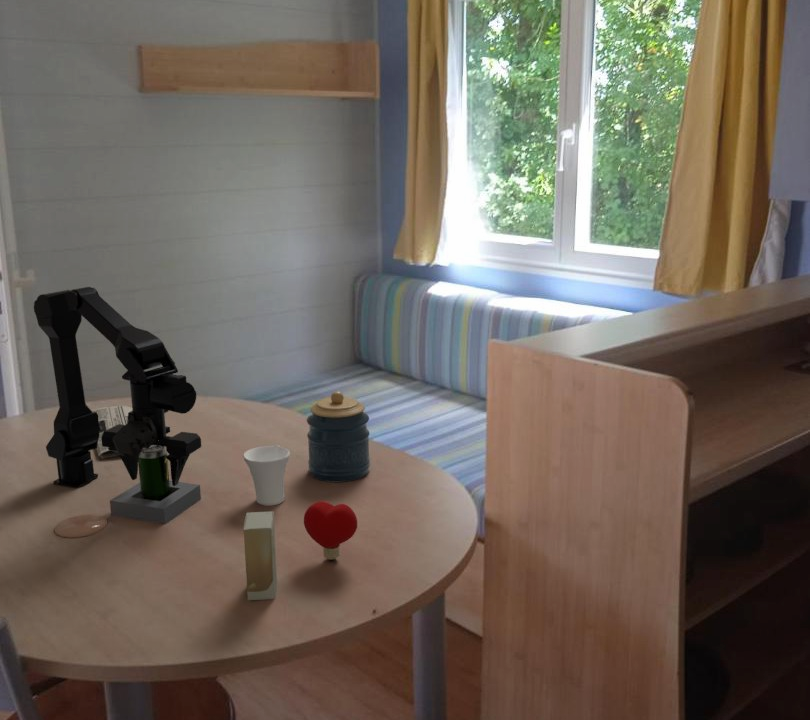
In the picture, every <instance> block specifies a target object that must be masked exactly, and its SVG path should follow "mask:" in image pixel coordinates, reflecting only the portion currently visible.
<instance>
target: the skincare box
mask: <svg viewBox="0 0 810 720" xmlns="http://www.w3.org/2000/svg"><path fill="white" fill-rule="evenodd" d="M244 518H245V519H244V523H243V539H244V541H243V543H244V554H245V555H244V556H245V574H246V592H247V595H246V596H247V601H261V600H263V601H265V600H275V599H276V595H277V587H278V586H277V585H278V578H277V576H278V575H277V554H276V552H277V551H276V534H275V533H276V531H275V530H276V529H275V515H274V511H273V510H272V511H256V512H255V511H251V512H246V514H245V517H244Z"/></svg>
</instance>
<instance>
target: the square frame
mask: <svg viewBox="0 0 810 720" xmlns="http://www.w3.org/2000/svg"><path fill="white" fill-rule="evenodd" d="M169 483H170V495H169V496H168V497H166V498H165V499H163V500H162V501H154V500H148V499H142V498H141V487H140V482H139V483H137V484H135V485H133V486H131V487H130V488H128V489H127V490H125V491H123V492H121V493H120V494H118V495H116V496H114V497H113V498H112V499H110V500H109V505H110V515H111V516H114V517H121V518H125V519H132V520H139V521H145V522H151V523H158V524H164V525H166V524H167V523H169V522H170V521H172V520H174V519H175V518H176V517H178V516H179V515H181V514H182V513H183V512H184V511H187V509H189V508H190V507H192V506H194V504H196V503H197V502H198V501H200V500H202V494H201V484H196V483H190V482H189V483H188V482H182V481H179V482H178V484H177V485H176V486H173V484H172V480H169Z"/></svg>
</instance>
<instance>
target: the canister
mask: <svg viewBox="0 0 810 720" xmlns="http://www.w3.org/2000/svg"><path fill="white" fill-rule="evenodd" d="M365 408H366V407H365V405H364V404H363V403H361V402H360V401H358V400H357V398H356V399H355V398H354V397H349V396H344V394H343V393H342V392H341V391H339V390H338V391H334V392H332V394H331V395H330V397H325V398H321V399H319V400H318V401H317V402H316V403H314V404H312V405H311V406H310V408H309V410H310V412H311V413H310V415H308V416H307V418H306V423H307V424H308V425H309V430H308V431H307V435H306V436H307V439H308V442H307V443H308V463H307V464H308V469H309V473H310V476H312V477H313V478H315V479H317V480H319V481H324V482H332V483H336V482H337V483H342V482H343V483H344V482H350V481H355V480H358V479H361V478H363V477H365V476H366V475H367V474H368V473H369V471H370V466H371V463H370V462H371V458H370V447H369V446H370V441H369V439H370V431H369V429H368V427H367V423H369V421H370V417H369V415H368V414H367V413H366V412H364V411H365V410H366V409H365Z"/></svg>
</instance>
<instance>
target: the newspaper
mask: <svg viewBox="0 0 810 720" xmlns="http://www.w3.org/2000/svg"><path fill="white" fill-rule="evenodd" d="M90 410H91V411H92V412H96V413H97V414H98V421H99V426H100V429H101V431H99V434H100V435H99V439H98V445H97V448H96V449H95V450H96V453H97V456H98V459H99V460H101V459H105V458H112V457H118V456H119V455H118V454H116V453H115V452H113V451H109V450H108V448H109V447H104V446H102V439H101V437H102V434H103V432H104V431H106V430H108V429H110V428H112V427H114V426H116V425H118V424H121V425H126V424H127V421H128V413H129V412H131V411H132V406H131V407H130V406H126V405H116V406H114V405H113V406H105V407H98V408H94V409H90ZM119 457H120V456H119Z"/></svg>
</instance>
